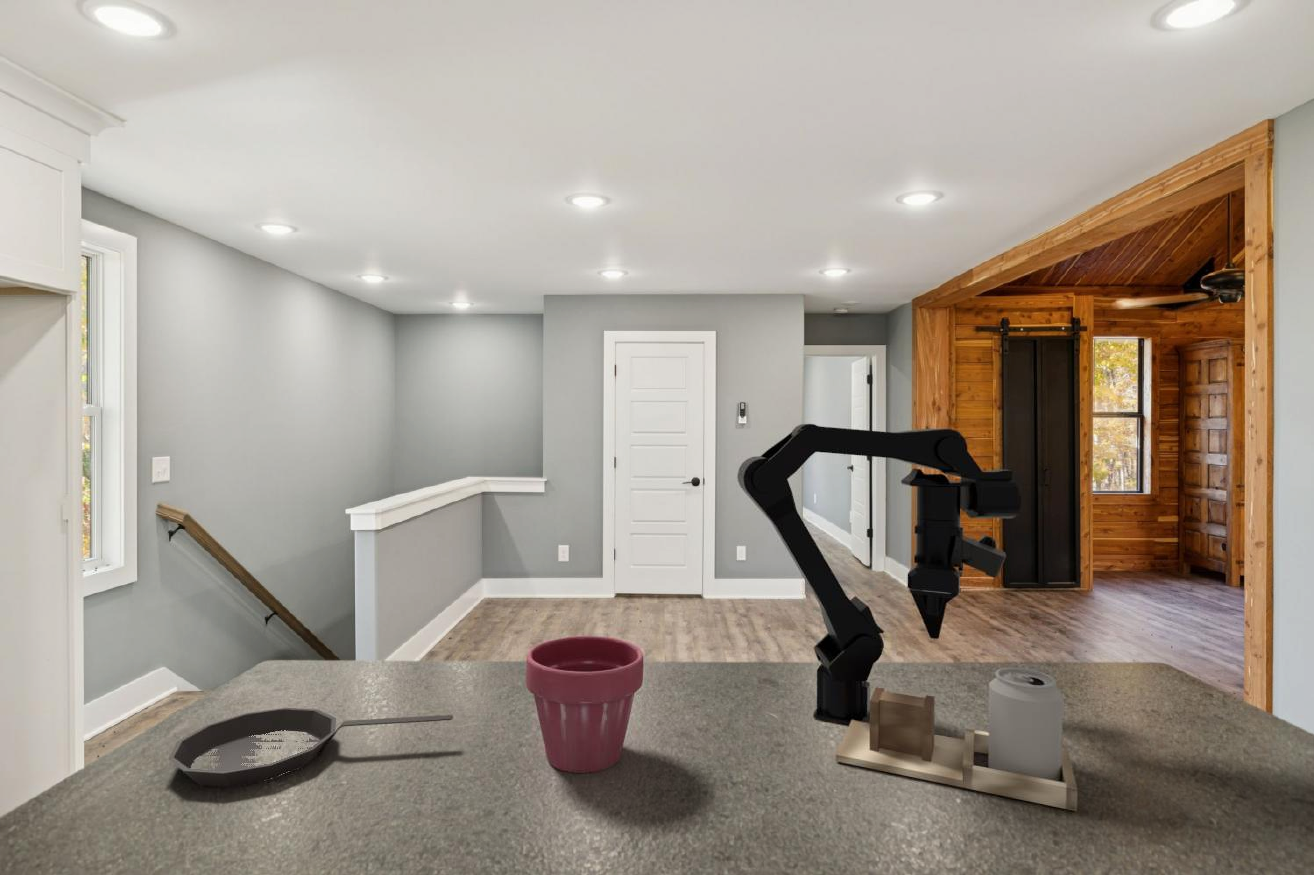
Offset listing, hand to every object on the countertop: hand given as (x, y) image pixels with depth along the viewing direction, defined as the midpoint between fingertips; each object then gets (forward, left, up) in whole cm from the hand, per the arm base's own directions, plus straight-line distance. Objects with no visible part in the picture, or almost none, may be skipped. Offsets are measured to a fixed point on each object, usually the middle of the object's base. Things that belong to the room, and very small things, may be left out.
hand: (936, 629), depth 98 cm
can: (+10, -15, -12) cm, 22 cm away
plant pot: (-38, -32, -12) cm, 51 cm away
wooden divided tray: (+2, -15, -12) cm, 19 cm away
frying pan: (-68, -46, -12) cm, 83 cm away
